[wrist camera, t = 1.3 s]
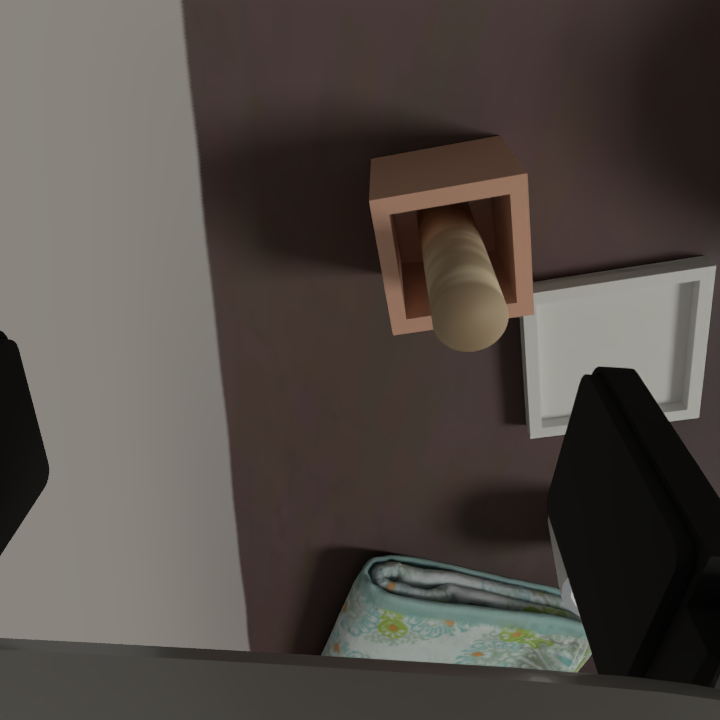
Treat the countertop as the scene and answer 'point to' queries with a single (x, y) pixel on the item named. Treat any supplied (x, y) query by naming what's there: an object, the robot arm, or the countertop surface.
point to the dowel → (460, 279)
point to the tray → (617, 337)
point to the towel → (455, 618)
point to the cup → (443, 187)
